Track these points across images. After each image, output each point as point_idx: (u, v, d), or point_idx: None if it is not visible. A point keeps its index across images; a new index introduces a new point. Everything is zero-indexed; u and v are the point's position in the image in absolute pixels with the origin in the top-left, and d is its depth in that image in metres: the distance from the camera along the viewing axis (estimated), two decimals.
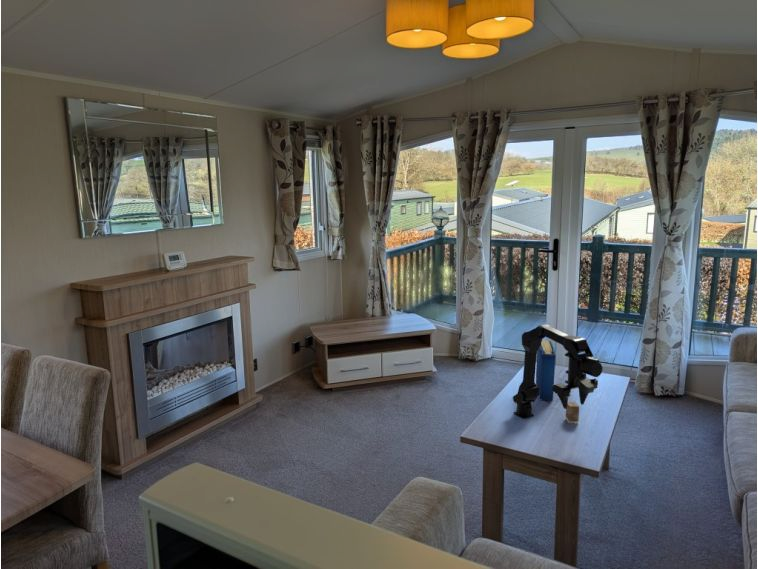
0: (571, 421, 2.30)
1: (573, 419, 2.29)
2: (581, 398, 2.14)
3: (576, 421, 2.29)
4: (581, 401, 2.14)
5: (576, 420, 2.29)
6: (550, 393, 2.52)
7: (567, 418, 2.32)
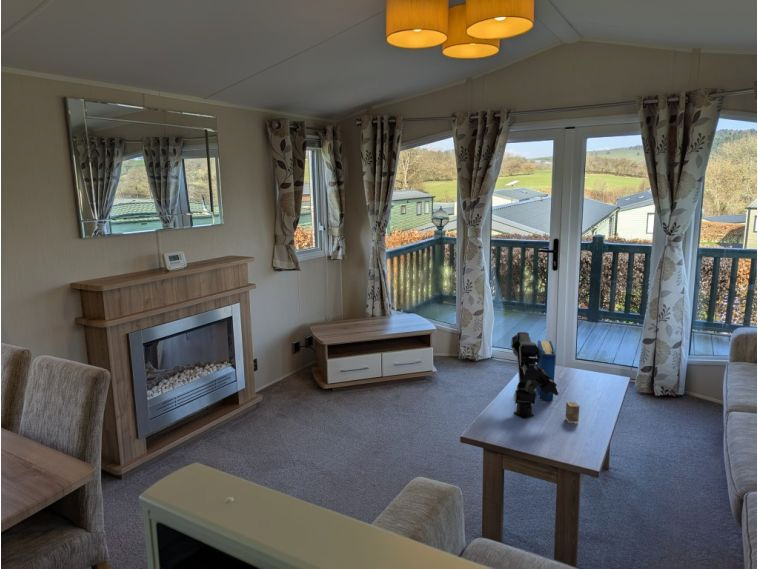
0: (571, 421, 2.30)
1: (573, 419, 2.29)
2: None
3: (576, 421, 2.29)
4: None
5: (576, 420, 2.29)
6: (550, 393, 2.52)
7: (567, 418, 2.32)
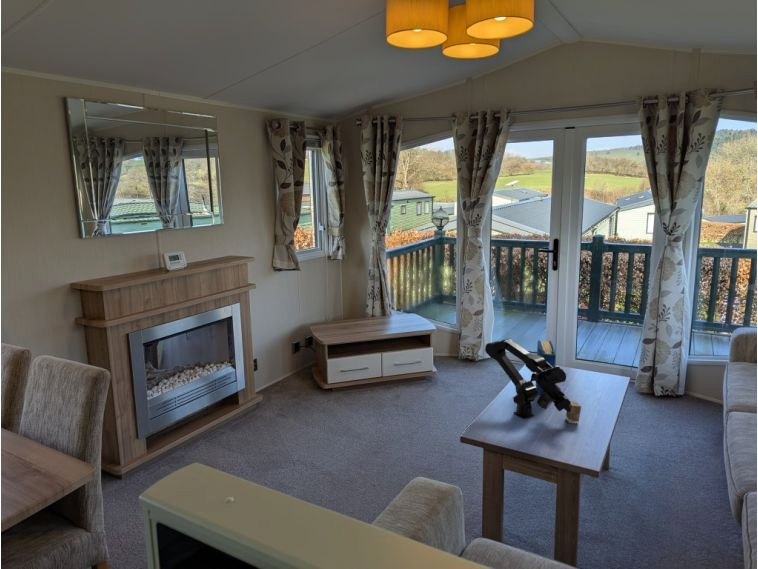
0: (571, 420, 2.30)
1: (574, 418, 2.29)
2: None
3: (576, 421, 2.29)
4: None
5: (576, 420, 2.29)
6: None
7: (567, 417, 2.32)
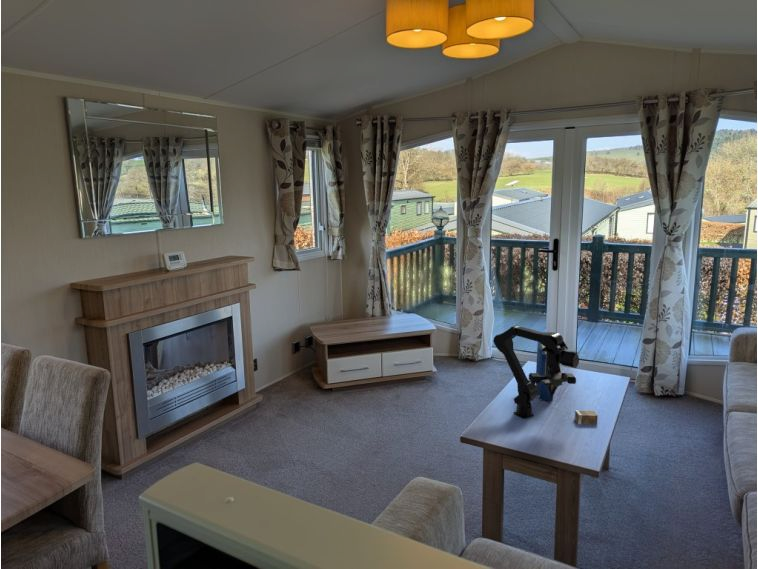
0: (581, 417, 2.29)
1: (583, 419, 2.29)
2: None
3: (581, 422, 2.29)
4: None
5: (582, 422, 2.29)
6: None
7: (580, 413, 2.31)
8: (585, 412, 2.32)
